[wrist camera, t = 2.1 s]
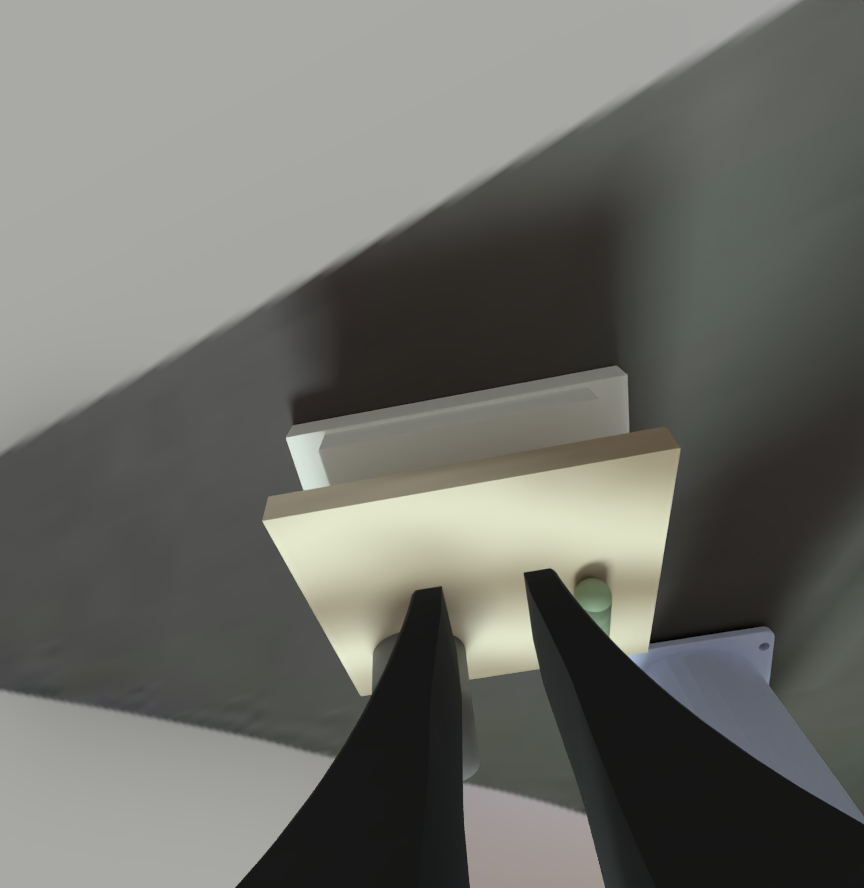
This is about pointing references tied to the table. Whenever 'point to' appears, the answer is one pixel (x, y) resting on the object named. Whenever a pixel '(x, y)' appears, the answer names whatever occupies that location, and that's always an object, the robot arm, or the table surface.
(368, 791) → the robot arm
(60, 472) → the table surface
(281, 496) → the plate
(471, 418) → the stand
